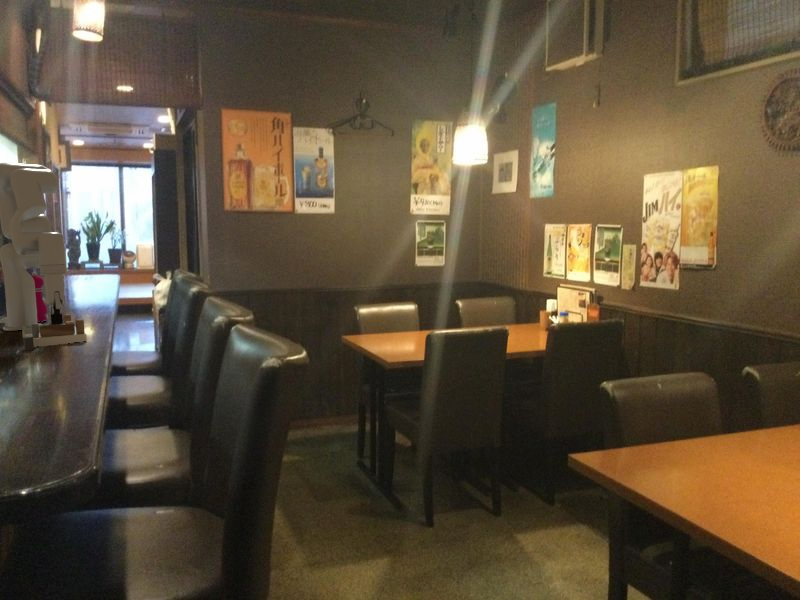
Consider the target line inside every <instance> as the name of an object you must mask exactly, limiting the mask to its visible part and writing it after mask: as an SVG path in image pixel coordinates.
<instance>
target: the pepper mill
mask: <svg viewBox="0 0 800 600" xmlns="http://www.w3.org/2000/svg"><path fill="white" fill-rule="evenodd" d="M31 276H32V277H33V279H34V282H35V294H36V308H37V321H43V320H47V316H46V315H47V313H48V308H47V305H46V304H45V302H44V299H43V292H44V278H43V277H42V276H41V275H40V276H39V275H38V273H37V272H36V271H32V272H31ZM47 321H48V320H47Z"/></svg>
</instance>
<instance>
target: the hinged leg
mask: <svg viewBox="0 0 800 600" xmlns="http://www.w3.org/2000/svg"><path fill="white" fill-rule="evenodd" d="M75 327H76V324H75V323H74V321H73V320H71V321H68V322H66V324H64V323H63V324H54V325H44V324H42V326H40V336H41V337H43V336H53V335H64V334H75Z"/></svg>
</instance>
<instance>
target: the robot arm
mask: <svg viewBox="0 0 800 600" xmlns="http://www.w3.org/2000/svg"><path fill="white" fill-rule="evenodd" d="M58 189H59V180H58V176H57V175H56V173H55V172H54V170H51V169H50V168H48V167H46V166H45V165H41V164H32V163H31V164H30V163H29V164H28V163H17V162H15V163H14V162H0V227H1V233H2V235H3V236H4V238H6V239H10V240H11V242H10V243H6V244H4V245H2V246H1V247H0V265H1V268H2V272H3V281H4V296H5V305H6V306H5V307H6V316H5V317H1V318H0V324H5V325H4V326H3V327H2V330H3V331H7V332H13V331H14V332H19V331H18V330H22V326H32V324H38V325H43V324H42V323H41V322H40V323H38V322H37V308H36V294H35V282H34V279H33V277H32V276H33V275H32V274H30V273H29V272H28V270H29V269H39V274H40V276H43V281H44V284H43V298H44V299H43V301H44V303H45V305H46V306H49V307H50V308H49V309H50V311H51V325H54V324H64V319H63V312H62V306H63V305H64V304H65V287H64V276H63V275H67V264H66V253H65V239H64V238H65V237H64V235H63V233H62V232H58V231H57V232H53V230H52V224H51V221H50V219H49V217H48V216H47V215H46V214H44V213H45V212H46V211H47V208H48V207H47V203H46V199H45V197H44V195H45V194H48V195H51V194H52V195H53V194H55V193H56V192H57V191H58Z"/></svg>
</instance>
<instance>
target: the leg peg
mask: <svg viewBox="0 0 800 600" xmlns="http://www.w3.org/2000/svg"><path fill="white" fill-rule="evenodd" d="M47 313H48V324H49V325H51V310H47Z"/></svg>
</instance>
